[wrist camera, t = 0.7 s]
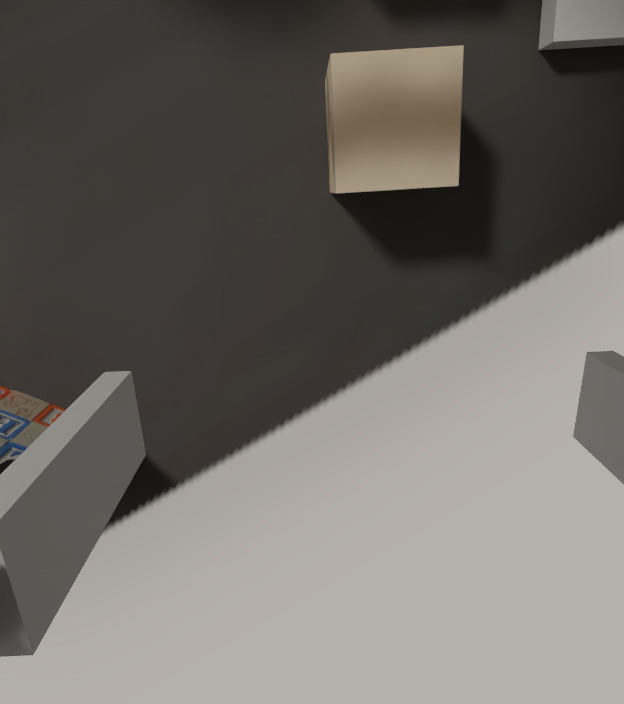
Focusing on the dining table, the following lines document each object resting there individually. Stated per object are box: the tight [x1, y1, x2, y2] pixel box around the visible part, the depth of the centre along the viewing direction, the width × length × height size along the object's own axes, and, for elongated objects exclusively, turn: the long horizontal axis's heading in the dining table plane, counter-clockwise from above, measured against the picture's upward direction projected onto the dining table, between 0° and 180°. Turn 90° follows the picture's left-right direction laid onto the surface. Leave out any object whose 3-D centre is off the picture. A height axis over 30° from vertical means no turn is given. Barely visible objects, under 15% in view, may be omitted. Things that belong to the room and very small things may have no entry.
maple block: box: [325, 45, 464, 193], centre depth 30 cm, size 7×7×7 cm
